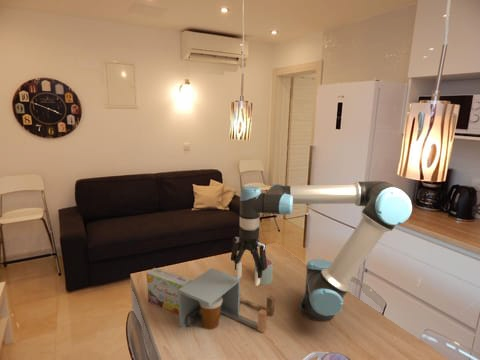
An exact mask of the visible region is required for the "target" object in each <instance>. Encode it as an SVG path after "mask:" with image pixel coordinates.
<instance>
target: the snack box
mask: <svg viewBox="0 0 480 360" xmlns="http://www.w3.org/2000/svg"><path fill="white" fill-rule="evenodd" d="M192 280H193V279H188V278H186V277H183V276H180V275H177V274H174V273H171V272H168V271H165V270H162V269H159V268H156V267H153V268H152V269H150V270H149V271H147V272H146V283H147V299H148V301H147V302H148V303H150V302H151V303H150V304H152V303H153V305H155V304H156V305H155V306H157V305H158V307H160V308H162V307H163V309H165V310H167V309H168V311H170V312H172V313H174V312H175V314H177V315H179V295H178V289H180V288H181V287H183V286H185V285H186V284H188V283H189V282H191V281H192Z"/></svg>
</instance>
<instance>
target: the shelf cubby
mask: <svg viewBox="0 0 480 360" xmlns="http://www.w3.org/2000/svg"><path fill="white" fill-rule="evenodd" d="M191 280H192V281H191V282H189V283H188V284H186V285H185V286H183V287H181V288H180V289H178V295H179V314H178V322H179V323H178V325H179V326H178V327H179V328H180V329H182V328H184V327H185V326H187V317H188V316H189V315H190V314H191V313H193V312H194V311H195V310H197V309H198V308H199V307H200V304H199V302H201V303H204V304H206V305H208V306H209V305H211V304H212V303H213V302H214V301H216V300H217V299H218V298H219V297H222V299H223V302H222V304H221V307H223V308H225V309H227V310H229V311H232V312H234V313H236V314H239V315H241V314H240V310H241V309H240V306H241V305H240V304H241V303H240V298H241V277H240V278H239V279H236V276H235V275H232V274H230V273H227V272H223V271H220V270H218V269H215V268H212V267H211V268H209V269H208V270H207V271H205V272H203V273H202V274H200V275H199V276H197V277H195V278H194V279H191Z"/></svg>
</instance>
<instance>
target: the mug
mask: <svg viewBox="0 0 480 360" xmlns="http://www.w3.org/2000/svg"><path fill="white" fill-rule="evenodd" d="M266 261H267V268H266V269H265V270H264V271H262V277H261V278H260V284H259V285H262V286H266V285H270V284H271V283H273V274H274V261H273V260H272V259H271V258H267V257H266ZM256 269H257V267H256V264H255V263H254V271H255V270H256ZM253 279H254V281H255V274H254V277H253Z"/></svg>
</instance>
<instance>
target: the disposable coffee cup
mask: <svg viewBox="0 0 480 360" xmlns="http://www.w3.org/2000/svg"><path fill="white" fill-rule="evenodd" d="M222 302H223V299H222V297H219V298H218V299H217V300H216V301H214V302H213V303H212V304H211V305H209V306H208V305H206V304H204V303H201V302H199V304H200V307H201V314H202V318H201V321H202V326H203V328H205V329H207V330H213V329H216V328H217V327H219V322H220V317H221V316H220V315H221V313H220V310H221V304H222Z"/></svg>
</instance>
